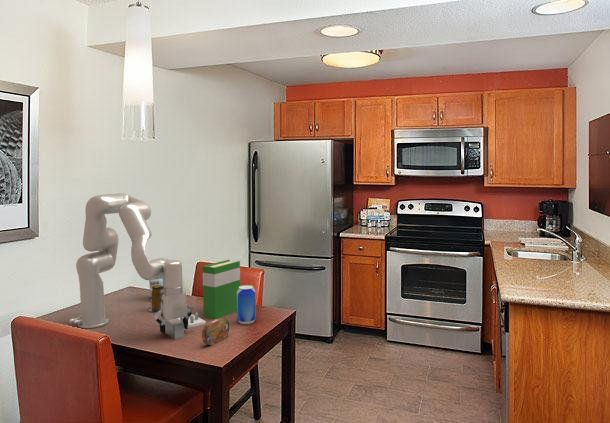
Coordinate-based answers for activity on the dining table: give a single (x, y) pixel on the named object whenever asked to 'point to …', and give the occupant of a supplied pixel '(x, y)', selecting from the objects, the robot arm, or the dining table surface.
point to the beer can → (246, 304)
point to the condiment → (156, 298)
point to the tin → (215, 331)
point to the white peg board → (193, 320)
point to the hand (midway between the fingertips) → (174, 330)
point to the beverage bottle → (155, 282)
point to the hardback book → (220, 288)
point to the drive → (174, 328)
